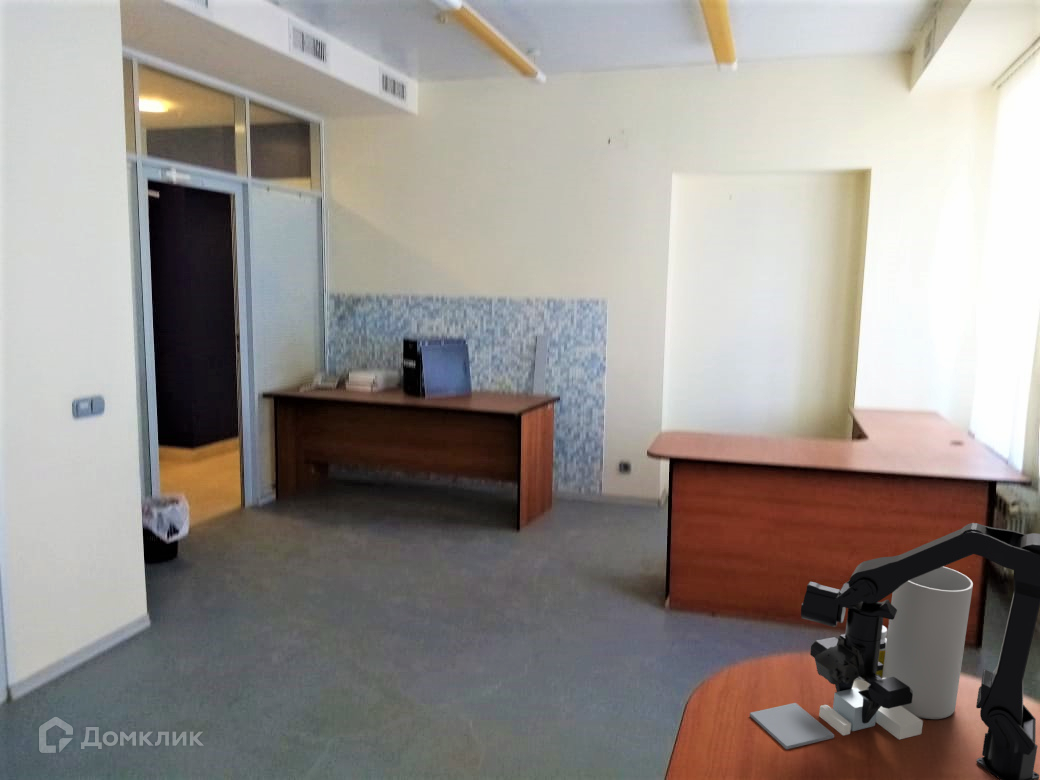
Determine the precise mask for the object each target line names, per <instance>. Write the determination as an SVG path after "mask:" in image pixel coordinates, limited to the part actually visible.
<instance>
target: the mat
mask: <svg viewBox="0 0 1040 780" xmlns="http://www.w3.org/2000/svg"><path fill="white" fill-rule="evenodd" d="M749 717H750V718H751V719H753V720H754V721H755V722H756V723H757V724H759V726H760V727H761V728H762V729H763V730H765V731H766V732H767V733H768V734H769V736H771V737H772V738H773V739H774V740H776V741H777V743H779V744H780V745H781V746H782V747H783V748H784V749H785V750H790V749H794V748H798V747H803V746H806V745H807V746H808V745H811V744H814V743H819V742H823V741H826V740H831V739H834V738H835V734H834V733H833V732H832V731H831V730H829V729H828V728H827V727H825V725H823V724H822V723H820V722H819V721H818V720H817V719H816V718H815V717H814V716H812V715H811V714H810V713H809V712H808V711H806V710H805V709H804V708H802V706H800V705H799V704H798V703H796V702H793V703H788V704H784V705H780V706H775V707H769V708H766V709H761V710H756V711H751V712H749Z"/></svg>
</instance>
